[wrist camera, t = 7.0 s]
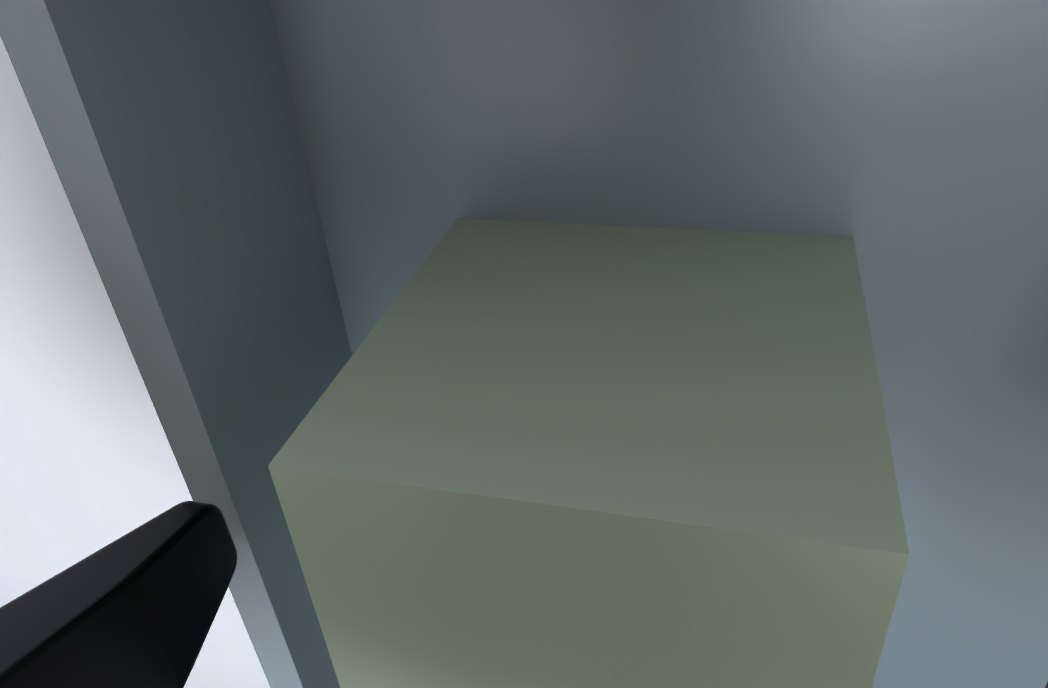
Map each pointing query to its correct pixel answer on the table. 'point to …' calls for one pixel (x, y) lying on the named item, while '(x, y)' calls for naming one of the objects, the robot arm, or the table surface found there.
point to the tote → (579, 198)
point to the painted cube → (605, 468)
